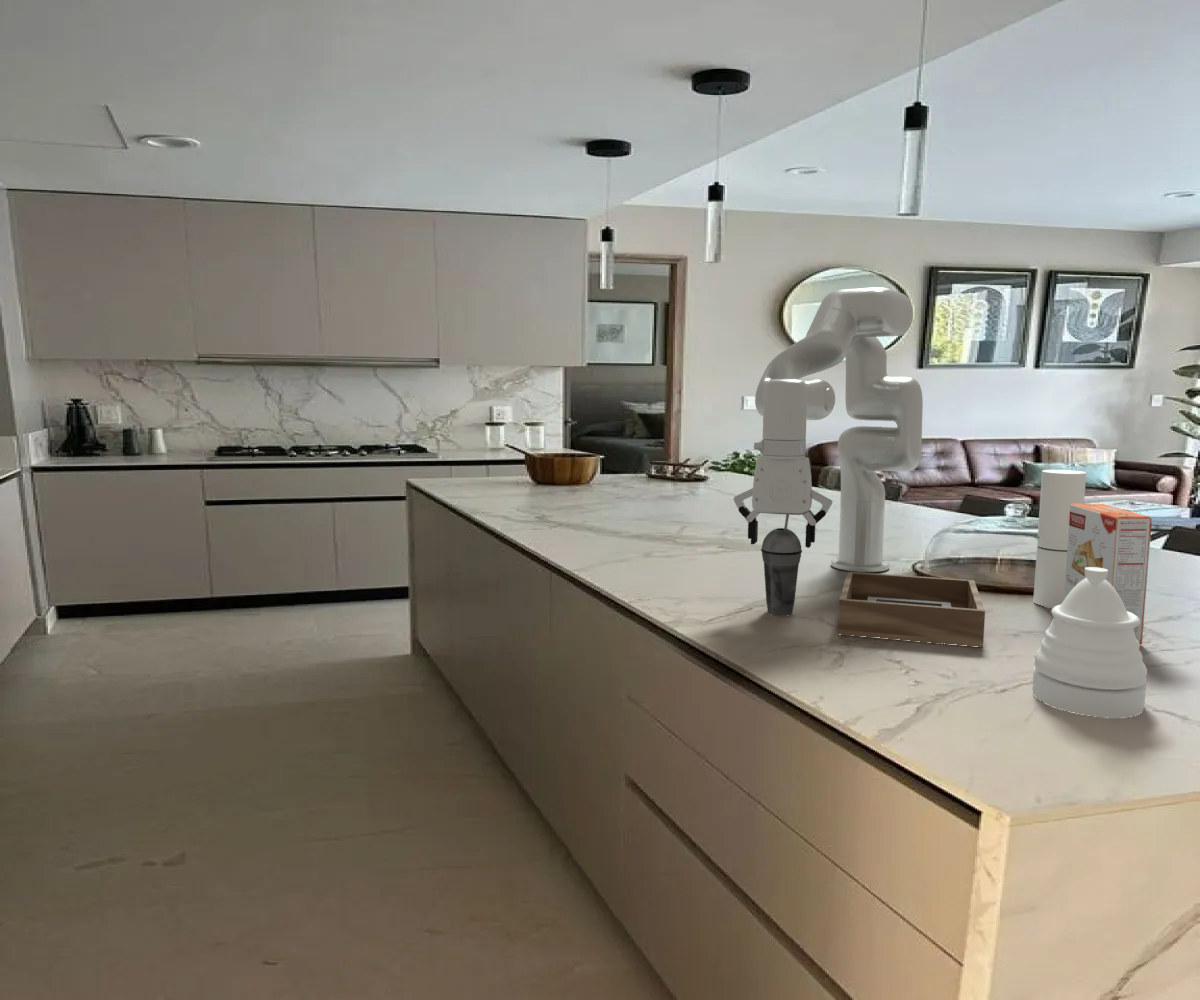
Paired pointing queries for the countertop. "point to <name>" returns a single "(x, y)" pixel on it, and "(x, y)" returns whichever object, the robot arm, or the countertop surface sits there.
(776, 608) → the beverage cup
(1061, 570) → the cylindrical container
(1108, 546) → the cracker box
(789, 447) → the robot arm
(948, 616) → the walled box
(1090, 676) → the honey pot
